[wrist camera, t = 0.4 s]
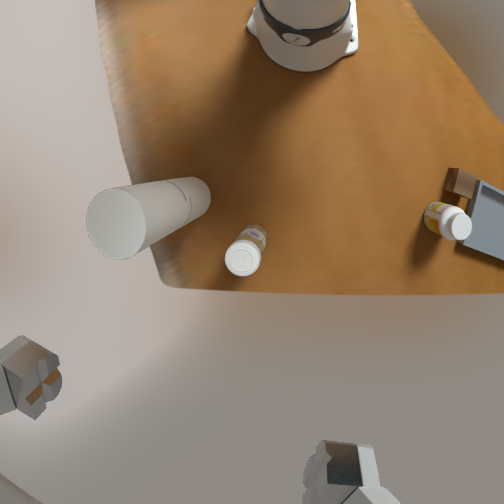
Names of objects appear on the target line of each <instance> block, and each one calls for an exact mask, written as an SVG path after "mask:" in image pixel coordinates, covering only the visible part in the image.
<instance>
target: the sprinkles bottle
mask: <svg viewBox="0 0 504 504" xmlns="http://www.w3.org/2000/svg"><path fill="white" fill-rule="evenodd" d="M267 239H268V237H267V233H266V231H265V230H264V229H263V228H262V227H261V226H259V225H255V224H253V225H249V226H247V227H245V228H244V229H243V231H242V232H241V234H240V235H239V236H238V238H237V239H236V240H235V242H234V243H232V244H231V245H230V247H229V248H228V250H227V251H226V254H225V263H226V266H227V268H228V269H229V270H230V271H231V272H232V273H233V274H235V275H237V276H248V275H251V274H253V273H254V272H255V271H256V270H257V268H258V266H259V264H260V261H261V255H262V253H263V250H264V247H265V245H266V243H267Z"/></svg>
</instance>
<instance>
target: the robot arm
mask: <svg viewBox="0 0 504 504" xmlns="http://www.w3.org/2000/svg"><path fill="white" fill-rule="evenodd" d="M256 2H257V3H258V4H257V6H256V7H255V8H253V14H252V16H251V17H250V19H249V21H248V23H247V28H248V30H249V31H250V32H251V33H252V34H253V35H254V36H256V37H257V38H258V39H259V41H260V43H261V45H262V47H263V49H264V51H265V52H266V54H267V55H268V56H269V57H270V58H271V59H272V60H273V61H275V62H276V63H278V64H279V65H281V66H283V67H285V68H288V69H291V70H296V71H316V70H320V69H323V68H326V67H328V66H329V65H331V64H333V63H334V62H335V61H336V60H338V59H339V58H341V57H342V56H347V55H351V54H354V53H356V52H357V50H358V29H357V15H356V3H355V0H256ZM350 40H353V42H350ZM59 365H60V363H59V359H58V356H57V355H56V354H54V353H52V352H51V351H49V350H47V349H45V348H44V347H42V346H40V345H38V344H37V343H35V342H34V341H32V340H30V339H28V338H27V337H25V336H18V337H17V338H15V339H14V340H12V341H11V342H10V343H8V344H7V345H6V346H4V347H3V348H2V349H0V415H2V414H4V413H7V412H10V411H13V410H16V408H17V409H18V410H20V411H21V412H23V413H25V414H26V415H28V416H29V417H31V418H33V419H34V420H36V418H38V416H39V415H40V414H41V413H42V412H43V411H44V410H45V409H46V402H48V401H52V400H54V399H55V398H56V397H57V395H58V394H59V392H60V389H61V387H62V376H61V374H60V372H59V371H58V369H57V367H58V366H59ZM303 484H304V485H305V487H306V488H307V490H306V492H305V493H304V494H303V503H302V504H401V503H400V502H399V501H398V500H397V499H396V498H395V497H394V496H393V495H392V494H391V493H390V492H389V491H388V490H387V489H386V488H385V487H380V481H379V476H378V471H377V466H376V461H375V456H374V451H373V447H372V446H371V445H363V444H353V443H344V442H335V441H326V440H322V441H321V442H320V443H319V444H318V446H317V447H316V454H314V455H312V456H311V457H310V458H309V460H308V462H307V464H306V467H305V470H304V475H303ZM0 504H43V503H42V502H40V501H38V500H37V499H35V498H34V497H32V496H31V495H29V494H28V493H27V492H25V491H24V490H22V489H21V488H19V487H18V486H17V485H15V484H14V483H13V482H11V481H10V480H9V479H7V478H6V477H5V476H3V475H2V474H1V473H0Z"/></svg>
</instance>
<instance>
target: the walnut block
mask: <svg viewBox="0 0 504 504" xmlns="http://www.w3.org/2000/svg"><path fill="white" fill-rule="evenodd" d="M476 178H477V177H476V176H474V175H472V174H470V173H468V172H466V171H464V170H461V169H459V168H449V169H448V174H447V178H446V182H445V186H444V190H447V191H449V192H451V193H454V194H456V195H459V196H461V197H465V198H469V199H472V195H473V191H474V187H475V182H476Z"/></svg>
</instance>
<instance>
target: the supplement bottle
mask: <svg viewBox="0 0 504 504" xmlns="http://www.w3.org/2000/svg"><path fill="white" fill-rule="evenodd" d="M424 221H425V224H426V226H427V227H428V228H429V229H430V230H431V231H433V232H435V233H437V234H438V235H440V236H442V237H444V238H446V239H448V240H457V239H458V240H464V239H466V238H467V237H468V236H469V235H470V233H471V230H472V222H471V219H470V218H469V216H467V215H466V214H465V212H464V211H463V210H462V209H460V208H459V207H456V206H453V205H449V204H446V203H443V202H433V203H431V204H430V205H429V206H428V207H427V208H426V210H425V214H424Z"/></svg>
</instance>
